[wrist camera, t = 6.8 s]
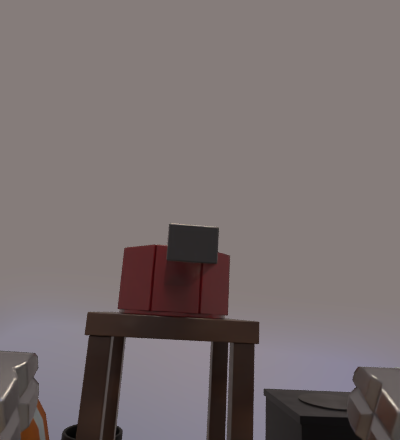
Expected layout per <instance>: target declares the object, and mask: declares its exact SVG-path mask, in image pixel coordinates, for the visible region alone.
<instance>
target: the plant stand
mask: <svg viewBox="0 0 400 440" xmlns="http://www.w3.org/2000/svg"><path fill="white" fill-rule="evenodd" d="M85 335H90V336H89V341H88V349H87V356H86V364H85V372H84V380H83V387H82V395H81V403H80V410H79V418H78V425H77V433H76V440H115V435H116V426H117V416H118V407H119V397H120V388H121V378H122V368H123V358H124V349H125V339H126V337H135V338H153V339H173V340H192V341H193V340H194V341H211V354H210V375H209V376H210V377H209V399H208V419H207V440H225V421H226V392H227V391H226V390H227V363H228V342H230V358H229V388H228V420H227V440H253V401H254V344H259V322H255V321H245V320H235V319H208V318H189V317H171V316H154V315H139V314H125V313H119V312H88V314H87V321H86V329H85Z"/></svg>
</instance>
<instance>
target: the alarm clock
mask: <svg viewBox="0 0 400 440" xmlns="http://www.w3.org/2000/svg"><path fill="white" fill-rule="evenodd" d="M21 440H49V435H48V427H47V420H46V414H45V412H44V409H43V408H42V405H41V404H40V402H39V400H38V403H37V407H36V410H35V414H34V417H33V419H32V421H31V424H30V426H29V427H28V428H27V429H25V430H24V431H23V432H21Z"/></svg>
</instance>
